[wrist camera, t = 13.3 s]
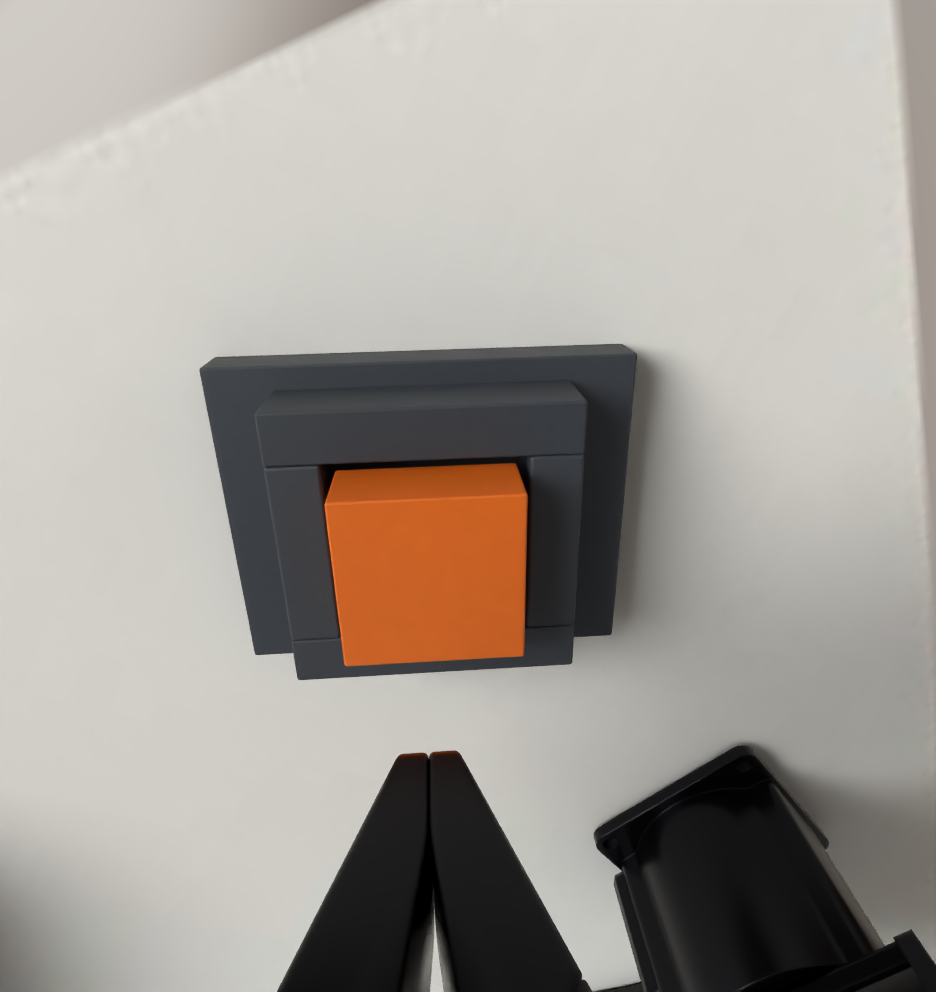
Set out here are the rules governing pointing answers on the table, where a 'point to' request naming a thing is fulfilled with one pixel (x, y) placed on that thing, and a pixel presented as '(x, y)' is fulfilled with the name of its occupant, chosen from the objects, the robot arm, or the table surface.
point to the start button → (429, 562)
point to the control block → (422, 443)
